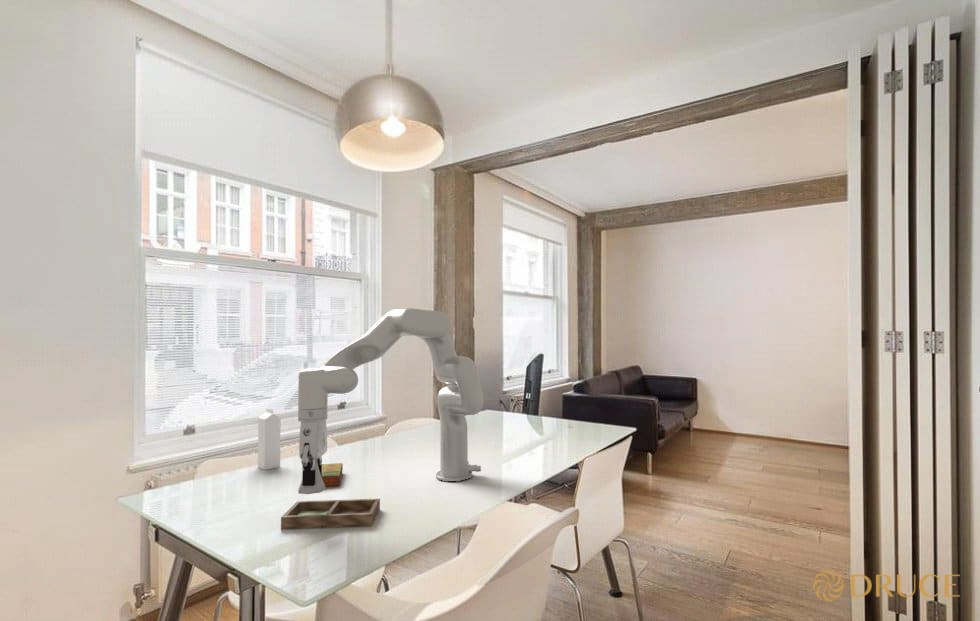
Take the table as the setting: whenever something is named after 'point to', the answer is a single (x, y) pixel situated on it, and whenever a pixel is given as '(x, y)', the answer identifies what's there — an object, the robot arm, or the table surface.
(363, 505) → the holder
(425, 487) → the table surface
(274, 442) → the milk
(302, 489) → the flask
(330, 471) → the carton
